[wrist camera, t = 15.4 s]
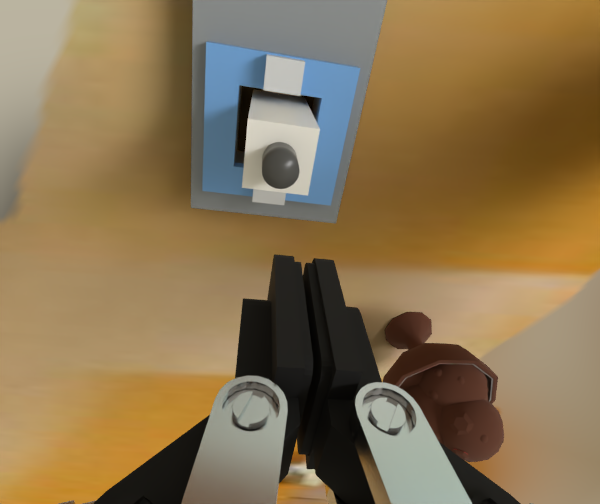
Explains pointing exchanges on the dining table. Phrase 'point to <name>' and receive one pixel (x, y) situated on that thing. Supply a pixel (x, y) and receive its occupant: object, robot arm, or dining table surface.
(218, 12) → the board
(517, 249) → the dining table surface
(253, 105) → the cord plug
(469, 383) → the ice cream bowl
